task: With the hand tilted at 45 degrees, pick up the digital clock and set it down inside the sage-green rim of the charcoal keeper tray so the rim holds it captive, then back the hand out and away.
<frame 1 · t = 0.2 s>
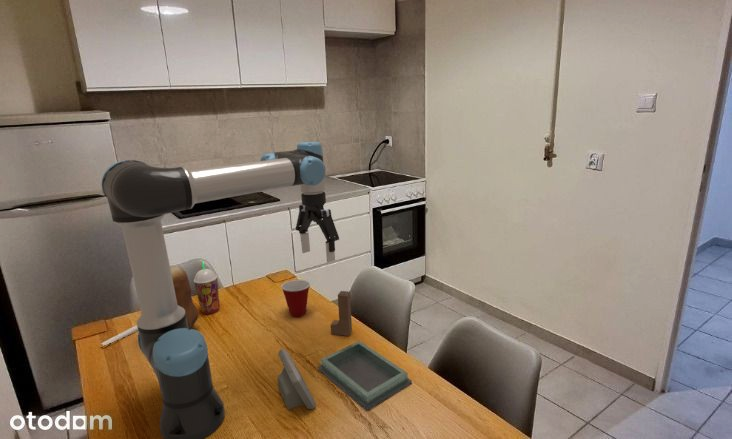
hand: (318, 256, 138), 28 cm above the table, tool pointing down, fingers open, 13 cm apart
wooden block: (341, 333, 144), on the table
plastic cup: (298, 313, 158), on the table
digital clock: (298, 395, 115), on the table
marker: (128, 336, 149), on the table
butternut squash: (181, 335, 147), on the table
smoothie: (210, 311, 163), on the table
keeper tray: (363, 376, 122), on the table
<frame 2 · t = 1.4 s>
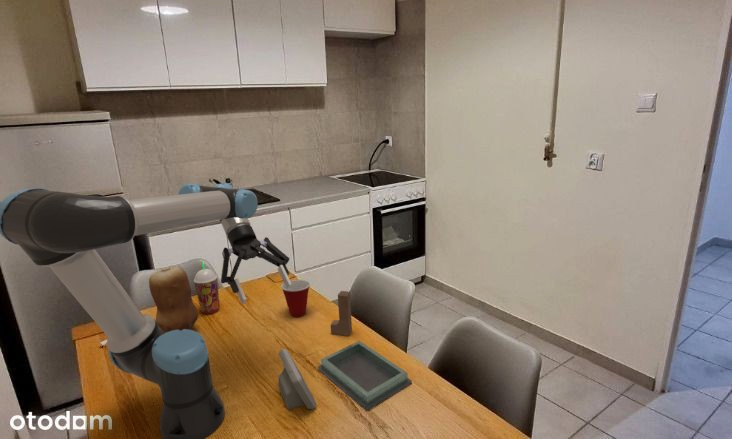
hand: (267, 294, 118), 25 cm above the table, tool tilted 45°, fingers open, 13 cm apart
nothing on the table moved.
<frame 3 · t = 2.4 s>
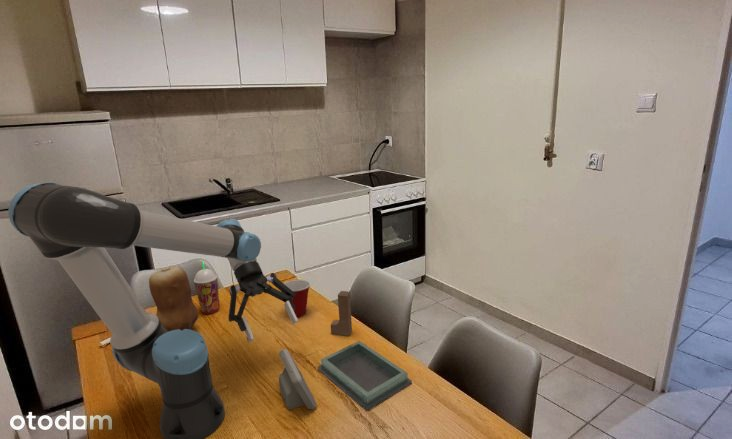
hand: (274, 331, 119), 15 cm above the table, tool tilted 45°, fingers open, 13 cm apart
nothing on the table moved.
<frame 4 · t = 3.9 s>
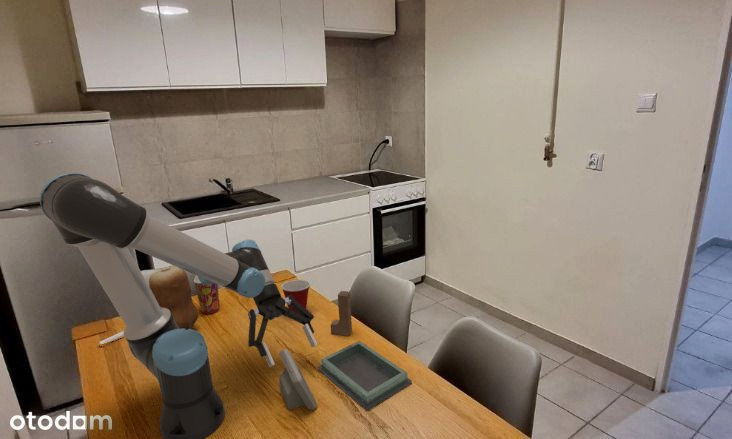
hand: (294, 355, 118), 8 cm above the table, tool tilted 45°, fingers open, 13 cm apart
nothing on the table moved.
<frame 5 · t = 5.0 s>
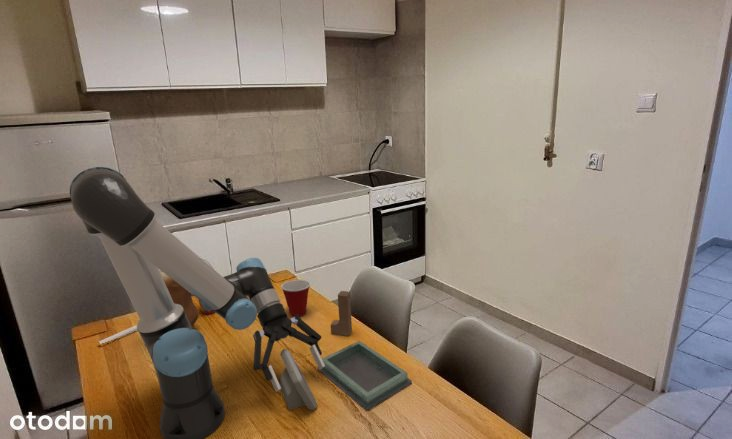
hand: (301, 378, 114), 5 cm above the table, tool tilted 45°, fingers open, 13 cm apart
nothing on the table moved.
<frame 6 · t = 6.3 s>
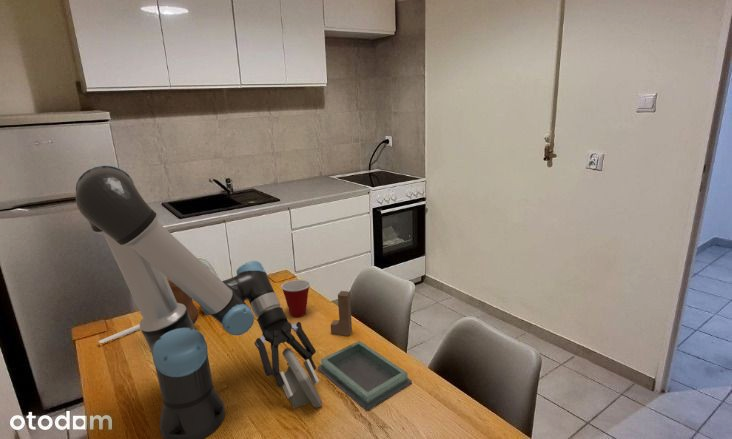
hand: (303, 389, 112), 4 cm above the table, tool tilted 45°, fingers closed on digital clock, 7 cm apart
digital clock: (303, 394, 116), on the table, touching gripper
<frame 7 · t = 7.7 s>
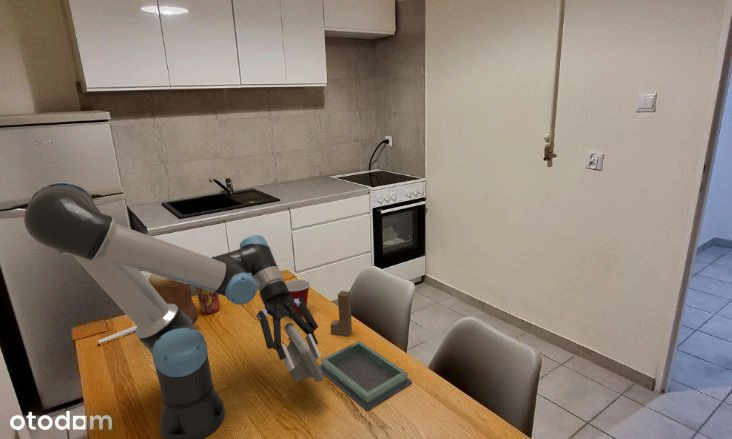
hand: (305, 363, 110), 11 cm above the table, tool tilted 45°, fingers closed on digital clock, 7 cm apart
digital clock: (304, 369, 114), point 7 cm above the table, touching gripper
when the fingers open (5 cm above the table, at t = 13.3 s): digital clock stays where it is, resting on keeper tray.
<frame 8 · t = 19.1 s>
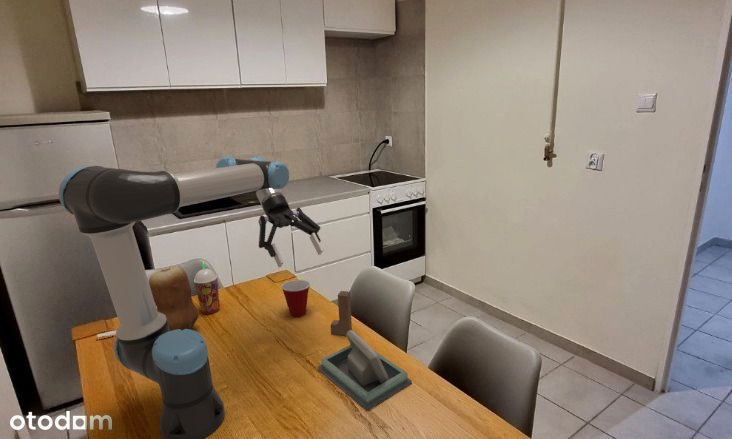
hand: (301, 258, 125), 32 cm above the table, tool tilted 45°, fingers open, 13 cm apart
digital clock: (367, 373, 122), point 1 cm above the table, touching keeper tray
at the end: digital clock 1.4 cm off-centre on the keeper tray, point 0.8 cm above the keeper tray's base; digital clock tilted 0°; the gripper is holding nothing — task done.
